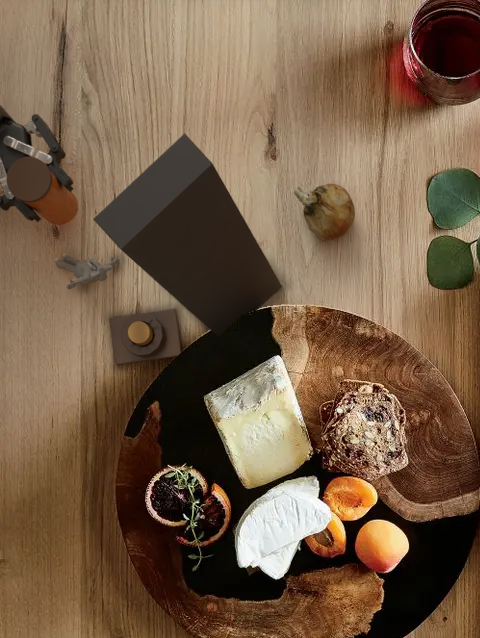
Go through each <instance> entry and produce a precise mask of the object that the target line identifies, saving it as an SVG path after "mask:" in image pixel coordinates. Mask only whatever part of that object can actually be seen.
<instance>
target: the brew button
mask: <svg viewBox="0 0 480 638" xmlns="http://www.w3.org/2000/svg"><path fill="white" fill-rule="evenodd" d="M128 336H129V338H130V340H131V341H133V342H134V343H136V344H138V345H146V344H148V343H149V342H150V341H151V340H152V338H153V331H152V329H151V328H150V327H149V326H148V325H147V324H145V323H144V322H140V321H137V322H134V323H133V324H131V325H130V327H129V329H128Z"/></svg>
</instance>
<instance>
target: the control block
mask: <svg viewBox="0 0 480 638" xmlns="http://www.w3.org/2000/svg"><path fill="white" fill-rule="evenodd" d="M178 317H179V316H178V310H177V309H176V308H169V309H160V310H154V311H153V310H152V311H146V312H140V313H131V314H125V315H118V316H112V317H108V320H109V328H110V336H111V337H110V338H111V344H112V351H113V358H114V360H113V361H114V365H116V366H123V365H128V364H130V365H131V364H136V363H144V362H150V361H158V360H166V359H173V358H178V357H177V356H178V355H179V354H180V353H181V352H182V353H183V347H182V339H181V332H180V323H179V318H178ZM137 321H140V322H144V323H145V324H147V325H148V326H149V327H150V328H151V329H152V331H153V338H152V340H151V341H150V342H149V343H148V344H146V345H138V344H136V343H134V342H133V341H131V340H130V338H129V336H128V329H129V327H130V325H131V324H133V323H134V322H137Z"/></svg>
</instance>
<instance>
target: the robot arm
mask: <svg viewBox="0 0 480 638" xmlns="http://www.w3.org/2000/svg"><path fill="white" fill-rule="evenodd" d="M30 120H31V121H30V122H28V123H27V124H25V125H23V124H20V123H18V122H16V121H15V119H14V118H13V117H12V116H11V115H10V114H9V113H8V112H7V111H6V110H5V108H3V107H2V105H0V184H1V186H2V190H3V192H4V194H2V195H0V209H1V210H3V211H5V212H6V211H9V210H10V208H11V207H15V208H16V209H17V210H18V211H19V212H20V213H21V214H22V216H23V217H25V218H26V219H27V220H28V221H30V222H34V221H35V222H37V223H39V222H40V221H42V217H41V216H40V215H39V214H38V213H37V212H36V211H34V210H33V209H32V208H31V207H30V206H28V205H27V204H26V203H25V202H23V201H21V200H19V199H17V198H16V197H15V196H14V195H13V194H12V193H11V192H10V190H9V188H8V186H7V172H8V170H9V168H10V166H11V165H12V164H13V163H14V162H15V161H16V160H18V159H20V158H23V157H35V158H37V159H40V160H41V161H42V162H44V163H45V164H46V165H47V167H48V168H49V170H50V171H51V172H52V173H53V174H54V176H55V177H56V178H57V179H58V180H59V181H60V182H61V183H62V184H63V185H64V187H65V188H66V189H67V190H69V191H70V192H71V191H72V192H73V191H74V190H75V188H74V187H73V185H74V181H73V179H72V177H70V176H69V174H68V173H67V172H66V171H65V170H64V168H62V167H61V161H62V160H63V159H65V158H66V155H67V154H66V151H65V150H64V148H63V147H62V146H61V144H60V142H59V141H58V139H57V138H56V136H55V135H54V133H53V131H52V129H51V128H50V127H49V125H48V124H47V122H46V121H45V120H44V119H43V118H42V117H41V116H40V115H39V114H38V113H34V114H32V115H31V119H30ZM32 135H35V136H36V137H38V138H42V139H43V140H44V142H45V143H46V145H47V147H48V148H49V151H48V153H45V152H44V151H41V150H39V149H38V148H35V147H34V146H33V142H32V141H33V140H32Z"/></svg>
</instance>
